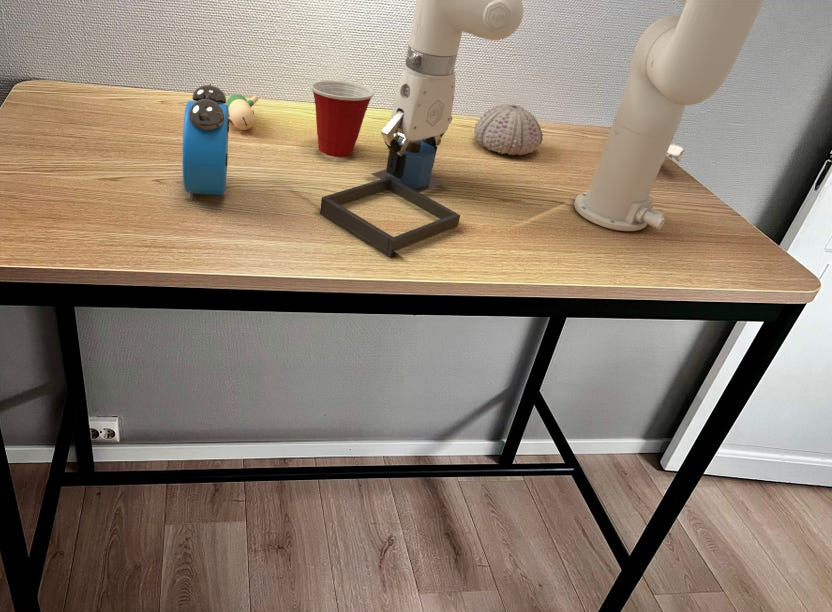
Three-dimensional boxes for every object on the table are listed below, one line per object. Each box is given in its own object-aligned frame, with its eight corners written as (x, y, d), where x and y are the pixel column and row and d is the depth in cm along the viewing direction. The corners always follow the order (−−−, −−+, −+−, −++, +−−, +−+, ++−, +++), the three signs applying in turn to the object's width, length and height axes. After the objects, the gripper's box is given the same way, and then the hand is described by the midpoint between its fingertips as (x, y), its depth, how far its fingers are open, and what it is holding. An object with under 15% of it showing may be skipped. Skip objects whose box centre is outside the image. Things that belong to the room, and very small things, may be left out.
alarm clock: (189, 170, 116) (189, 75, 107) (228, 174, 117) (231, 79, 108) (182, 209, 106) (181, 107, 97) (225, 212, 107) (228, 111, 98)
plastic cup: (353, 141, 135) (362, 76, 127) (372, 167, 127) (383, 98, 120) (297, 141, 131) (303, 74, 124) (313, 167, 123) (320, 97, 116)
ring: (436, 182, 123) (443, 151, 120) (409, 191, 119) (415, 159, 115) (406, 166, 127) (412, 136, 123) (379, 174, 122) (384, 143, 119)
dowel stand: (443, 188, 124) (453, 146, 119) (408, 200, 118) (417, 156, 114) (405, 168, 128) (413, 126, 124) (369, 179, 123) (376, 135, 118)
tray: (456, 231, 112) (460, 215, 110) (390, 258, 103) (393, 240, 101) (387, 192, 120) (389, 176, 118) (319, 213, 111) (321, 196, 109)
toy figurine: (220, 121, 139) (229, 143, 130) (210, 99, 136) (218, 120, 127) (259, 104, 139) (271, 124, 130) (250, 81, 136) (261, 101, 127)
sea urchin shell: (459, 144, 141) (468, 103, 136) (488, 128, 150) (498, 89, 145) (521, 167, 136) (533, 125, 131) (547, 148, 145) (560, 109, 140)
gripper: (410, 76, 104) (390, 190, 115) (484, 62, 114) (458, 168, 125) (373, 60, 108) (357, 172, 118) (448, 48, 118) (426, 152, 129)
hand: (409, 169), depth 122 cm, fingers closed on ring, 7 cm apart
